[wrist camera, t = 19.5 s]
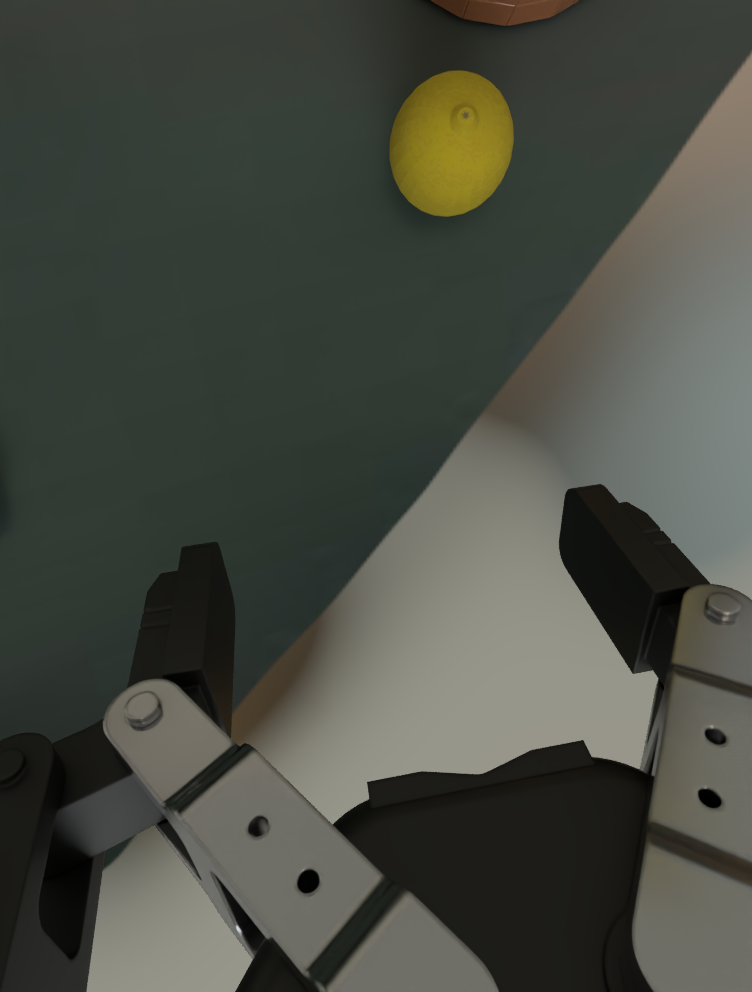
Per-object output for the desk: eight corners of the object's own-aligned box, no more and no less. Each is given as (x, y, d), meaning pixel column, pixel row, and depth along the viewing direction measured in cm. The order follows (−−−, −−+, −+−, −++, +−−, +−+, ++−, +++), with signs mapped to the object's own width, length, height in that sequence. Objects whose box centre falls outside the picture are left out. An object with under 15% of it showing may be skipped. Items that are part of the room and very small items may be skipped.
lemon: (498, 124, 32) (548, 49, 24) (479, 238, 33) (520, 202, 25) (392, 105, 31) (407, 23, 23) (377, 221, 32) (386, 180, 25)
